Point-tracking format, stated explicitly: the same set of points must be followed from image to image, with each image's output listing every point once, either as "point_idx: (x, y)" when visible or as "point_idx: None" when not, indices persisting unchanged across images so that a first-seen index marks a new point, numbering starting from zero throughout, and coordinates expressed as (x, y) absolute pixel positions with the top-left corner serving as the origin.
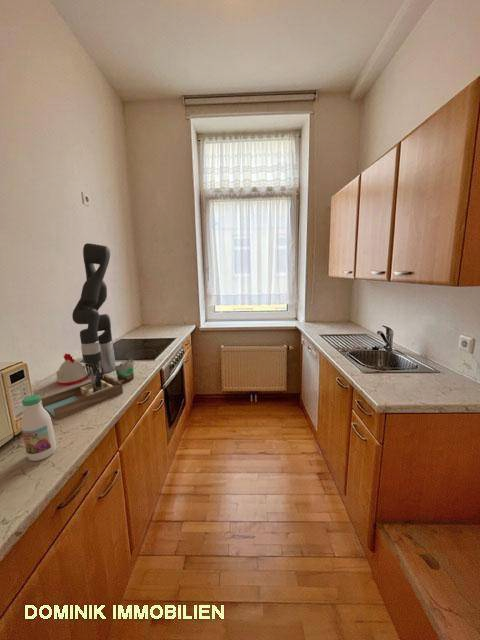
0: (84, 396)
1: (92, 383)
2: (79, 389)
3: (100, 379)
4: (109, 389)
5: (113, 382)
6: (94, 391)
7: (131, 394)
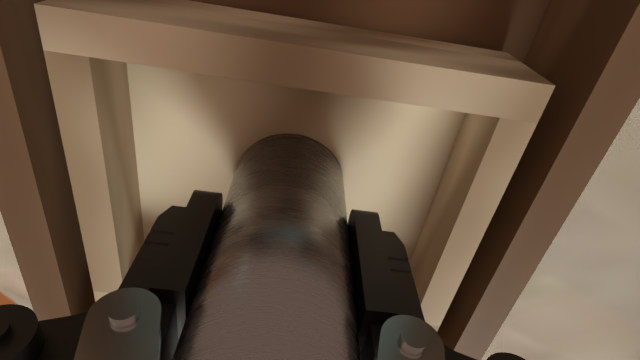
0: (371, 19)
1: (272, 220)
2: (563, 69)
3: (454, 344)
4: (17, 239)
5: None
6: (271, 142)
7: (4, 287)
